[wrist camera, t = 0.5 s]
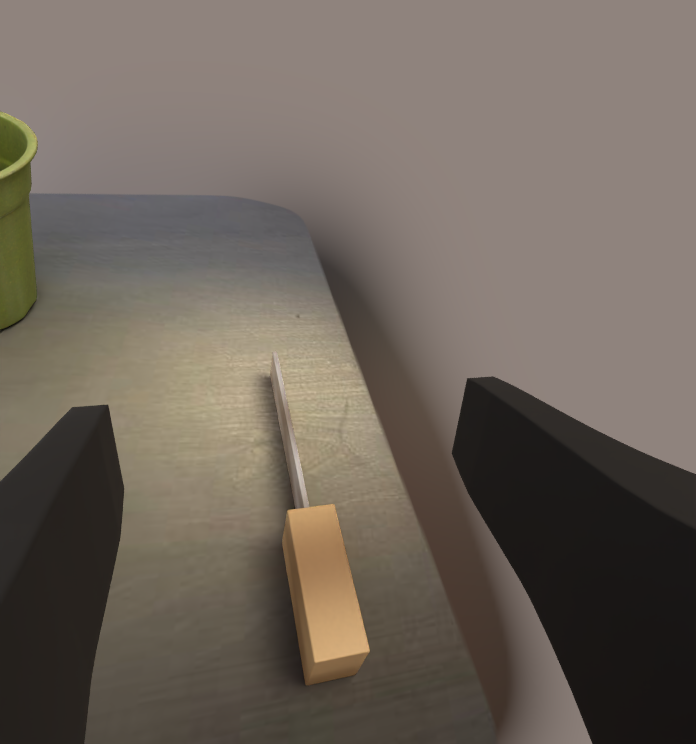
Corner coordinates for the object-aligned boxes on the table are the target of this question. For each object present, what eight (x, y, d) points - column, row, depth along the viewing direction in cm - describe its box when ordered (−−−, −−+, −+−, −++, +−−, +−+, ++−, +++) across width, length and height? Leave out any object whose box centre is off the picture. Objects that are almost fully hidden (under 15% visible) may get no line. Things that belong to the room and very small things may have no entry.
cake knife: (356, 675, 25) (370, 651, 23) (305, 686, 24) (314, 663, 22) (289, 375, 37) (294, 339, 35) (254, 377, 37) (256, 340, 34)
